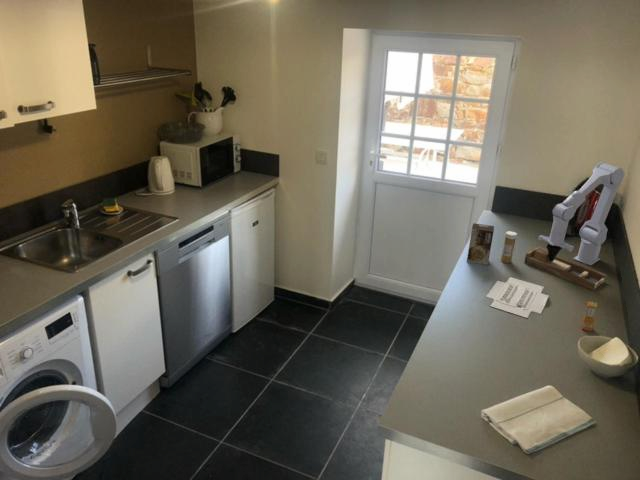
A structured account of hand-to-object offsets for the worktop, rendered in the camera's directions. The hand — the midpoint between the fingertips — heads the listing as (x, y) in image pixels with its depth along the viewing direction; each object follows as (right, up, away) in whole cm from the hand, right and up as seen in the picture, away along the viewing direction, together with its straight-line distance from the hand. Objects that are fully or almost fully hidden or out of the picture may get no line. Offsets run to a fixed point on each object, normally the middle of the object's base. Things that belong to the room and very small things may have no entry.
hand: (551, 260), depth 230 cm
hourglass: (-6, -23, -41) cm, 48 cm away
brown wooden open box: (+4, -5, -3) cm, 7 cm away
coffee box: (-31, 0, +4) cm, 31 cm away
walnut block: (-3, 0, +3) cm, 4 cm away
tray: (-23, -14, -23) cm, 35 cm away
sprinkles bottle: (-18, -1, +5) cm, 19 cm away
